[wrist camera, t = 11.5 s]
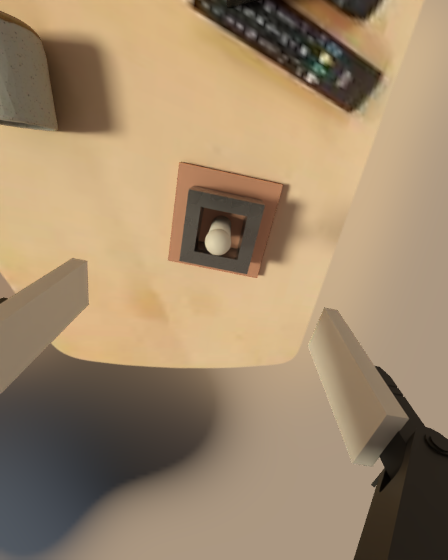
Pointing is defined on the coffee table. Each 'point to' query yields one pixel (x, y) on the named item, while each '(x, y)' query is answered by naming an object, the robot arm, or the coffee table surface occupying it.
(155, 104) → the coffee table surface
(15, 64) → the ceramic mug
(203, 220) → the brown base with peg
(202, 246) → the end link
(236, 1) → the grey square hollow block
